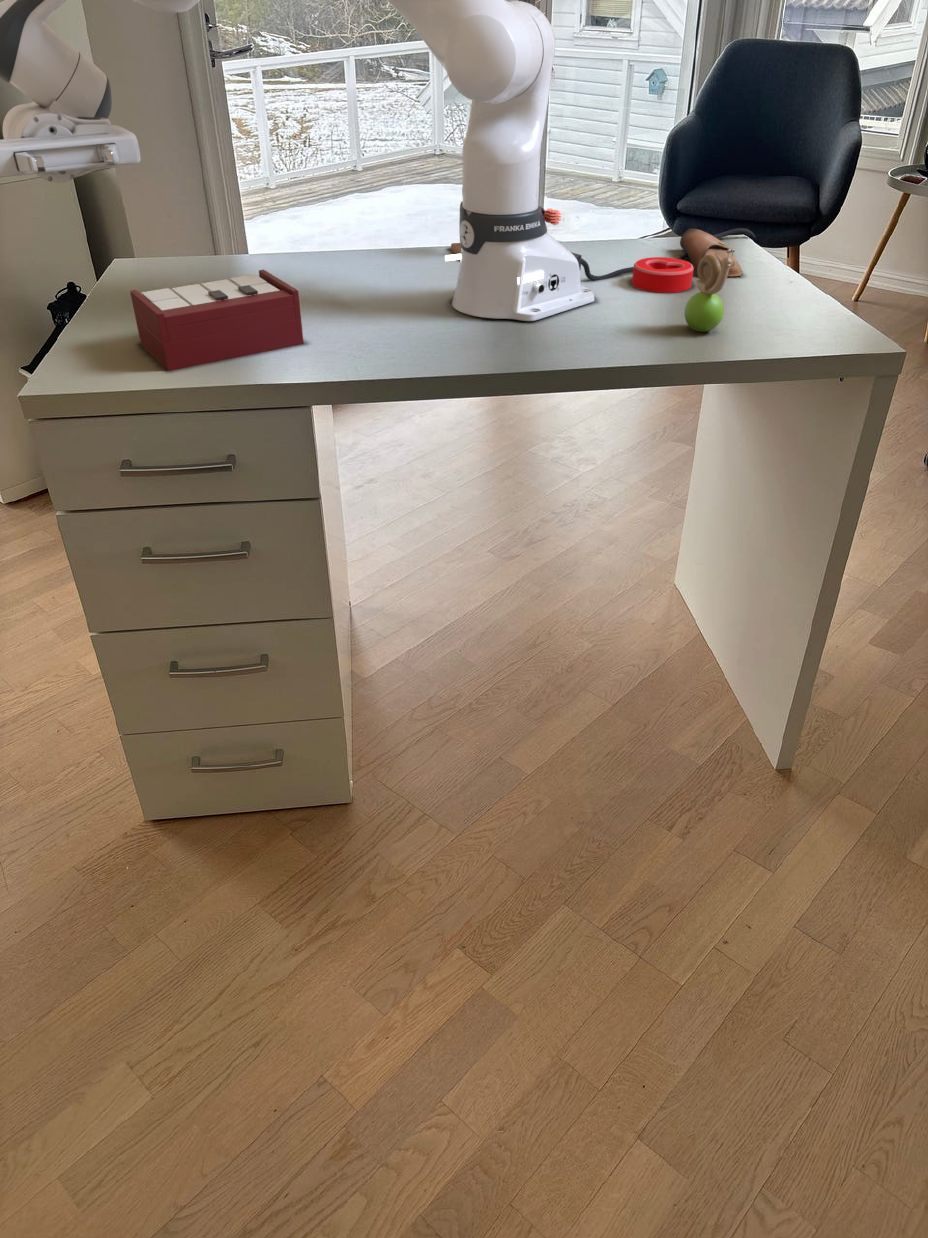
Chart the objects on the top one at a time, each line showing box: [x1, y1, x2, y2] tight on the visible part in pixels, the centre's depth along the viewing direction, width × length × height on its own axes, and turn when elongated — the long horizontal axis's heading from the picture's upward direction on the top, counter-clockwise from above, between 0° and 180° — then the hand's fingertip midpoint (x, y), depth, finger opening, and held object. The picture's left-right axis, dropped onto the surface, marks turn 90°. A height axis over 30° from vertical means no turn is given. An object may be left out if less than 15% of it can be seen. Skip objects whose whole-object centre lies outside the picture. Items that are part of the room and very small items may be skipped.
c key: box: [229, 273, 267, 287], centre depth 131 cm, size 4×4×1 cm
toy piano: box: [129, 269, 305, 372], centre depth 127 cm, size 19×12×7 cm, turn 122°
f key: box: [140, 287, 179, 303], centre depth 126 cm, size 4×4×1 cm
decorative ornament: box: [631, 256, 695, 294], centre depth 152 cm, size 10×10×3 cm
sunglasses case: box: [679, 228, 744, 278], centre depth 162 cm, size 18×7×7 cm
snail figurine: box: [683, 248, 736, 333], centre depth 130 cm, size 5×6×12 cm
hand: (75, 161), depth 123 cm, fingers open, 8 cm apart
